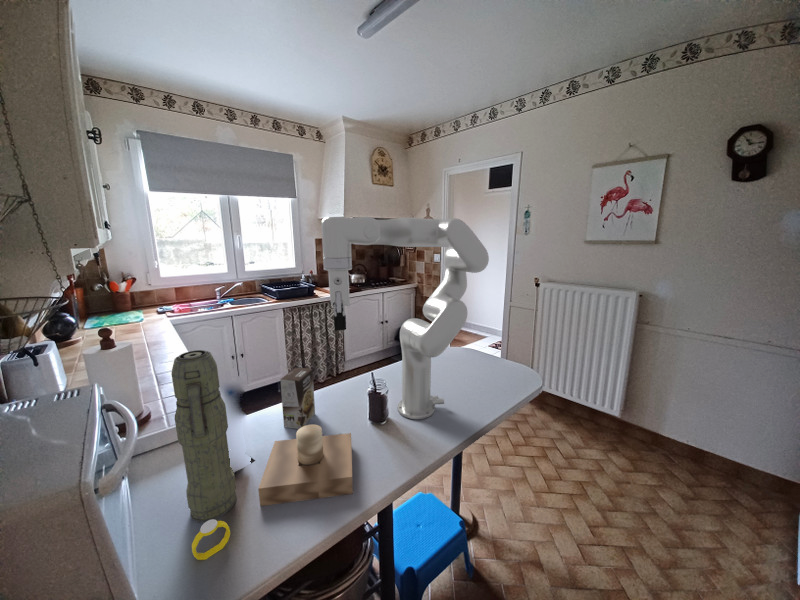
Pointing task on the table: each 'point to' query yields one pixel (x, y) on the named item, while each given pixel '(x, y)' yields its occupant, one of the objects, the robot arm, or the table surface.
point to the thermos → (203, 435)
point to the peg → (309, 445)
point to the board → (307, 472)
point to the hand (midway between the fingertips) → (340, 329)
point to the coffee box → (297, 397)
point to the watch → (207, 530)
